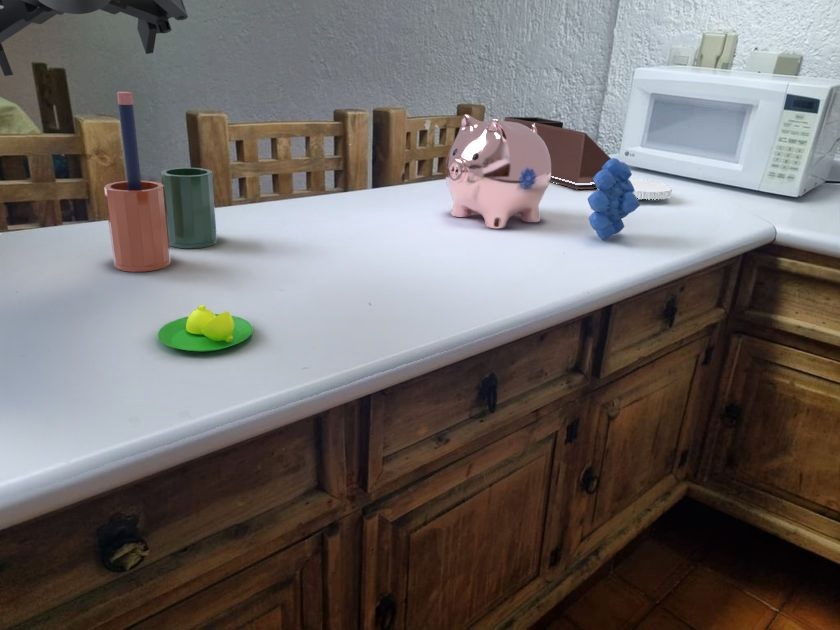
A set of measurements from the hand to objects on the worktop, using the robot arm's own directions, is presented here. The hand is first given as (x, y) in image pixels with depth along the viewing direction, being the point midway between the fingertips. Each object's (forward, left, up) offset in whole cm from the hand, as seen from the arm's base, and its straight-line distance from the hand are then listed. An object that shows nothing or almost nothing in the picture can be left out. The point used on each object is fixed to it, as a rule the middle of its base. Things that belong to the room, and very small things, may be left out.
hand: (77, 51), depth 68 cm
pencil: (+5, 0, -22) cm, 22 cm away
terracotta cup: (+5, 0, -23) cm, 23 cm away
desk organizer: (+53, +84, -23) cm, 102 cm away
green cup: (+6, +10, -23) cm, 25 cm away
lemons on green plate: (+21, -17, -23) cm, 35 cm away
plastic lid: (+69, +67, -23) cm, 99 cm away
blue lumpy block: (+61, +31, -23) cm, 72 cm away
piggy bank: (+43, +38, -23) cm, 62 cm away
